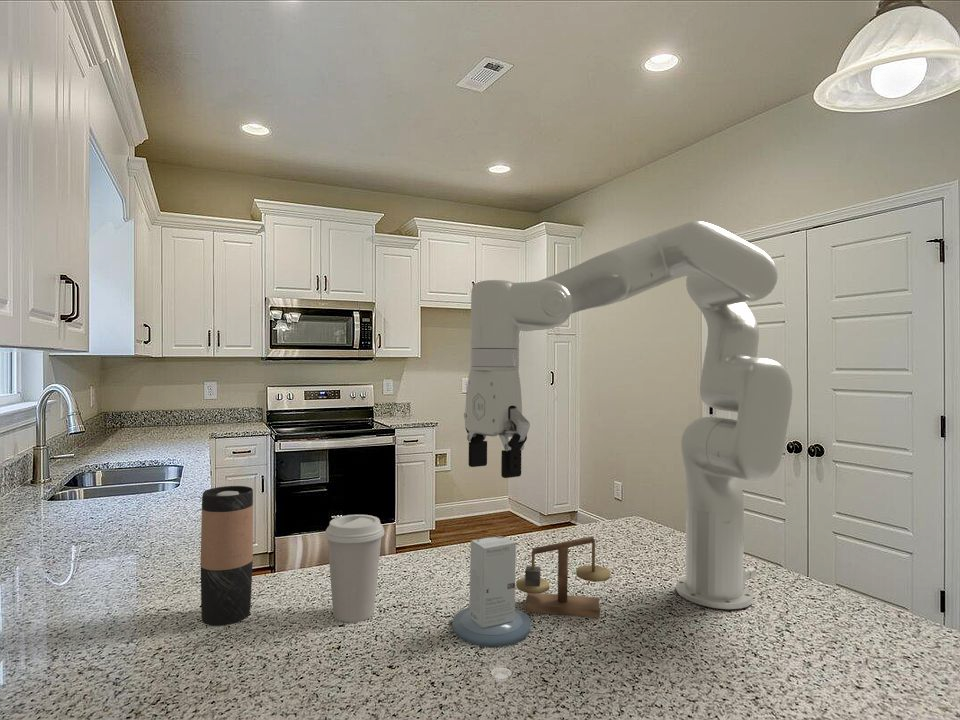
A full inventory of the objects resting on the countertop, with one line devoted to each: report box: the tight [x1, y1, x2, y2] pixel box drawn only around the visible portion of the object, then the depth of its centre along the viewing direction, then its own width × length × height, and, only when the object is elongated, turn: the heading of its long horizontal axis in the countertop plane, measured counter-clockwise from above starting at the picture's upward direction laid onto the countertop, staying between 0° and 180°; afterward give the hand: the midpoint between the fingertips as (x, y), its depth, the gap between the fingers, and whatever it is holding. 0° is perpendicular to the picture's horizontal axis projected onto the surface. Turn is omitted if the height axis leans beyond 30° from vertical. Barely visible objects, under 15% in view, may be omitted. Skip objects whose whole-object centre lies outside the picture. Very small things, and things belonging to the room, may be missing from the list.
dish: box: [452, 606, 531, 647], centre depth 88 cm, size 12×12×1 cm
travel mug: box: [200, 485, 254, 627], centre depth 91 cm, size 8×8×20 cm
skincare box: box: [469, 535, 517, 628], centre depth 88 cm, size 6×4×12 cm
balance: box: [515, 535, 611, 619], centre depth 95 cm, size 16×6×12 cm, turn 81°
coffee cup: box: [324, 514, 385, 623], centre depth 92 cm, size 10×10×15 cm
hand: (493, 471), depth 88 cm, fingers open, 9 cm apart
